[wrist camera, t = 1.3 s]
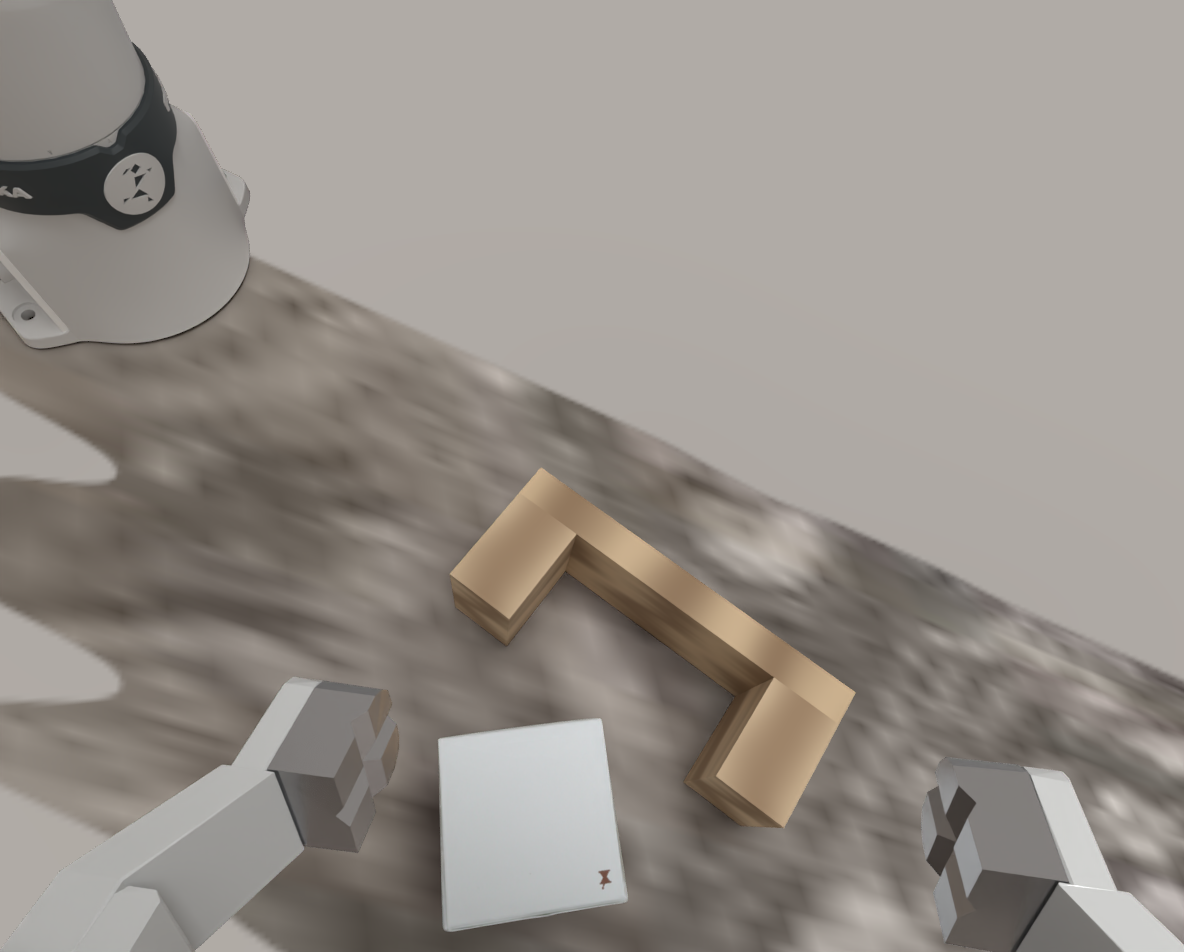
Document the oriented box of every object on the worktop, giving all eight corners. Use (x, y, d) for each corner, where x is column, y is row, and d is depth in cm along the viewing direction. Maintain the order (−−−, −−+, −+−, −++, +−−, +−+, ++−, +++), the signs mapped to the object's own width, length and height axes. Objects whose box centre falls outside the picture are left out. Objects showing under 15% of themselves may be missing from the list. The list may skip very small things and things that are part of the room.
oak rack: (455, 606, 46) (449, 573, 40) (534, 512, 49) (540, 467, 43) (740, 826, 43) (783, 827, 37) (805, 709, 46) (855, 692, 40)
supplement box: (578, 740, 44) (609, 713, 33) (593, 882, 41) (633, 909, 30) (450, 755, 43) (435, 733, 31) (456, 903, 40) (442, 938, 28)
